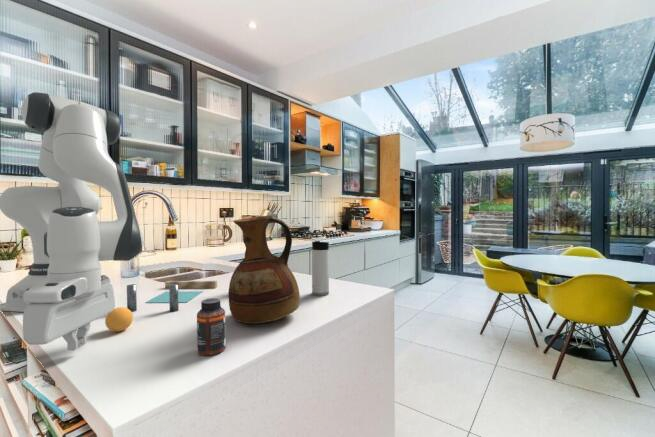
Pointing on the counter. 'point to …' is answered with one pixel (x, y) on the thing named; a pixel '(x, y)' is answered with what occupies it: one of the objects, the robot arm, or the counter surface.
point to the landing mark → (182, 297)
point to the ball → (119, 319)
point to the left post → (131, 297)
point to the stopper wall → (192, 284)
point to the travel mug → (320, 268)
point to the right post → (173, 297)
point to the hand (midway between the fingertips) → (77, 347)
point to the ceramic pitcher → (262, 276)
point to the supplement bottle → (211, 327)
